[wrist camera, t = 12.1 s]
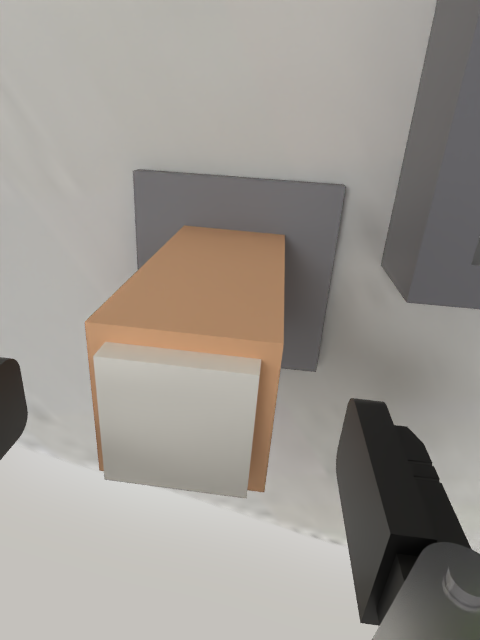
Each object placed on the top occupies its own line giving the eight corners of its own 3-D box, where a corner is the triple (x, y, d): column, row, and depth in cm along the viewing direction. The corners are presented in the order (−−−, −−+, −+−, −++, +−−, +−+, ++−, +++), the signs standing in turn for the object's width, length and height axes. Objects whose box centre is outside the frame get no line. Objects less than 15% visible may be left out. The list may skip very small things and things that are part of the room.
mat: (145, 347, 20) (141, 353, 19) (138, 169, 16) (133, 170, 16) (315, 364, 19) (315, 371, 19) (343, 184, 16) (345, 186, 15)
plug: (183, 316, 18) (89, 490, 10) (183, 225, 16) (70, 335, 8) (274, 326, 18) (262, 513, 9) (285, 234, 16) (283, 359, 8)
